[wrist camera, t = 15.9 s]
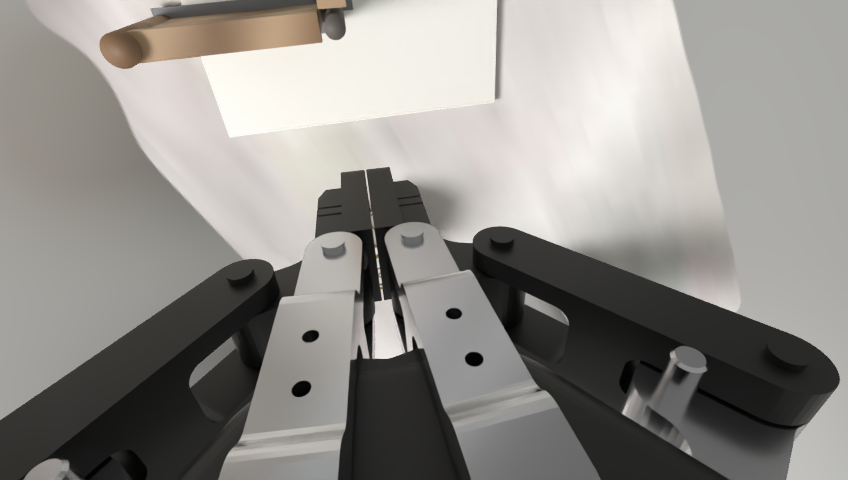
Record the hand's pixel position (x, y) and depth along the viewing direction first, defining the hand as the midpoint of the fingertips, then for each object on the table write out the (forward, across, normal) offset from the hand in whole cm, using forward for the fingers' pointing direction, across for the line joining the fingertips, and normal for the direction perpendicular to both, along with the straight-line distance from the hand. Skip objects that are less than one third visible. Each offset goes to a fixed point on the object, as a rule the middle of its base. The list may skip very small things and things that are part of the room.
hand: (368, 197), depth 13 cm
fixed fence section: (+23, +7, -3) cm, 24 cm away
